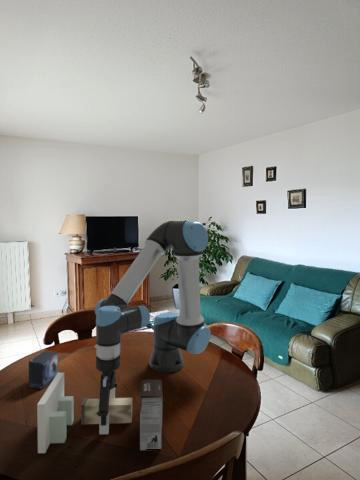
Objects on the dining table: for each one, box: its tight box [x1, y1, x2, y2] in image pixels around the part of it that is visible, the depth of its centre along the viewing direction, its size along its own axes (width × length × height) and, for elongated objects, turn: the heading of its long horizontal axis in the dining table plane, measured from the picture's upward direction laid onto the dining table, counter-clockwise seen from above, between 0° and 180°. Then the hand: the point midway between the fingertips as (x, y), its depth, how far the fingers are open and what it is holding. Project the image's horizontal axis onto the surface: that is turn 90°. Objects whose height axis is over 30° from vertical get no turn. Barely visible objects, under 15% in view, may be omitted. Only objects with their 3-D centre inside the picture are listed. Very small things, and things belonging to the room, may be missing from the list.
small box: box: [28, 350, 59, 390], centre depth 125 cm, size 11×6×10 cm, turn 168°
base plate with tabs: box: [36, 372, 75, 454], centre depth 96 cm, size 6×18×14 cm, turn 4°
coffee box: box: [139, 379, 163, 451], centre depth 93 cm, size 9×6×16 cm
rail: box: [80, 397, 133, 425], centre depth 102 cm, size 16×4×6 cm, turn 94°
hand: (107, 419), depth 102 cm, fingers open, 13 cm apart
